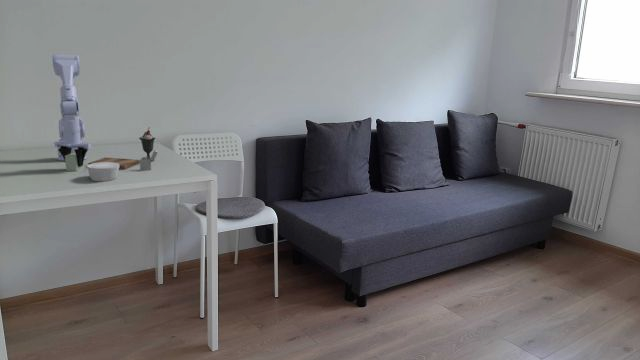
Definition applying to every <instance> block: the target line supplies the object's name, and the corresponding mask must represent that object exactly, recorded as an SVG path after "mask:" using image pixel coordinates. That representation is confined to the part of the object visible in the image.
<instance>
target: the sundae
mask: <svg viewBox="0 0 640 360" xmlns="http://www.w3.org/2000/svg"><path fill="white" fill-rule="evenodd" d="M138 139H139V140H140V141H141V145H142V146H141V147H142V150H143V151H144V152H145V153H146V157H148V159H151V155H150V154H151V152H153V150H154V144H155V143H154V142H155V140H156V137H154V136H153V134H152V132H151V130H150V127H149V126H148V128H147V131H145V132H143V135H142V136H140V137H139V138H138ZM152 162H154V161H153V160H151V163H152Z"/></svg>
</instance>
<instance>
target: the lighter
mask: <svg viewBox="0 0 640 360" xmlns="http://www.w3.org/2000/svg"><path fill="white" fill-rule="evenodd" d="M153 150H154V151H152V154H151V156H150V158H151V159H148V157H147V156H142V157H141V158H140V159H139V160H140V163H139V168H140V169H139V170H140V171H151V170H152V162H154V161H155V159H156V158H157V155H158V153H159V151H158V150H156V149H153ZM151 160H153V161H152V162H151Z"/></svg>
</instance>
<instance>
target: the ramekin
mask: <svg viewBox="0 0 640 360" xmlns="http://www.w3.org/2000/svg"><path fill="white" fill-rule="evenodd" d="M119 167H120V166H119V164H118V163H114V162H100V163H93V164H90V165H86V169H87V171H88V175H89V178H90V179H91V181H95V182H108V181H109V182H110V181H113V180H116V179H117V178H118V177H119V172H120V169H119Z"/></svg>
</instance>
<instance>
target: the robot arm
mask: <svg viewBox="0 0 640 360" xmlns="http://www.w3.org/2000/svg"><path fill="white" fill-rule="evenodd" d="M51 57H52V66H53V72H54V74H55V75H56V76H57V77H60V79H61V81H62V86H60V89H59V90H60V91H59V92H60V102H59V106H60V107H59V108H60V115H61V118H60V119H59V121H58V131H59V132H58V134H59V138H60V139H59V140H57V141H54V143H53V144H54V147H55V148H56V149H57V157H58V158H57V159H56V161H64V162H65V155H68V154H72V153H74V154H76V156H77V163H78V167H80V166H83V167H84V161H85V160H86V159H88V158H89V157H88V156H86V155H87V152H88V151H89V150H91V149H92V143H88V142H83V139H85V137H86V131H85V130H86V129H85V122H84V120H83V119H82V118H81V117H79V116H80V115H79V114H81V113H80V104H79V99H78V94H77V93H78V92H77V91H78V90H77V88H76V86H74V85H75V84H74V81H75V78H76V77H79V75H80V73H81V68H80V67H81V66H80V63H81V62H80V56H79V55H78V54H55V53H53V55H52V56H51ZM65 164H66V162H65Z"/></svg>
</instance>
